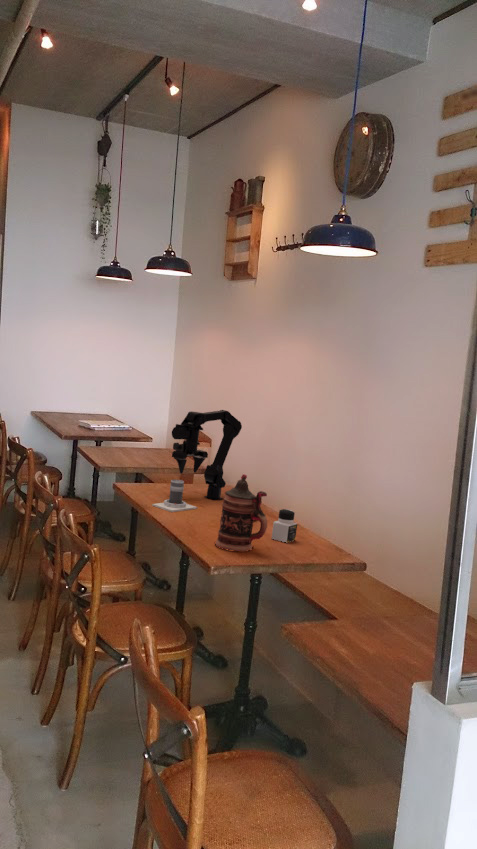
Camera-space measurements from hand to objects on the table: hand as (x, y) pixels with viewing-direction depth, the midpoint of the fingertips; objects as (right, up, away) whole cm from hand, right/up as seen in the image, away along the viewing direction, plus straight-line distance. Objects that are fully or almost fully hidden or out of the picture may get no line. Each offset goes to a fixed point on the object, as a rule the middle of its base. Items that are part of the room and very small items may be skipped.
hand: (188, 472), depth 340 cm
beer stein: (+22, -23, -68) cm, 75 cm away
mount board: (-5, -14, -15) cm, 21 cm away
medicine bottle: (+41, -24, -48) cm, 67 cm away
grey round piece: (-5, -13, -15) cm, 21 cm away
